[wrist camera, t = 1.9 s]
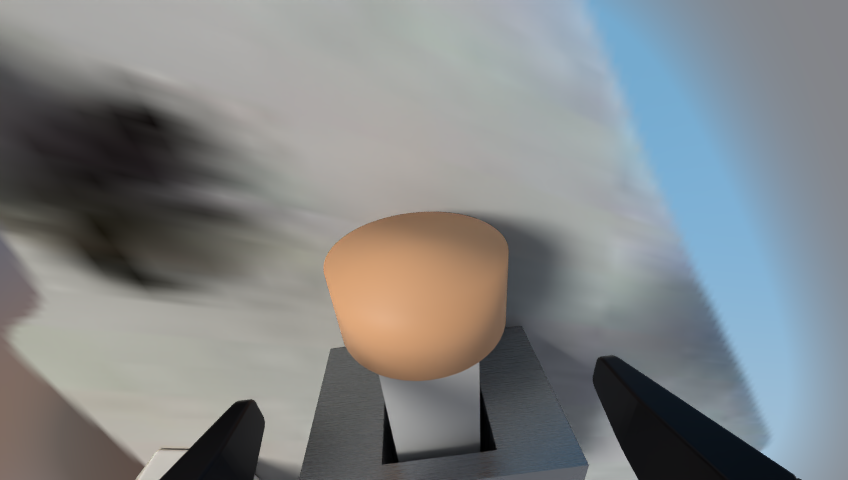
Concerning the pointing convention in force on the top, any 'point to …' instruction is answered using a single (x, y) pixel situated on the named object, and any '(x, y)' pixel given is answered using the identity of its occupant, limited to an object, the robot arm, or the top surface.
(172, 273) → the top surface
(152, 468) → the jar
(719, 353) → the top surface
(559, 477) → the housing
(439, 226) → the white and tan bar
